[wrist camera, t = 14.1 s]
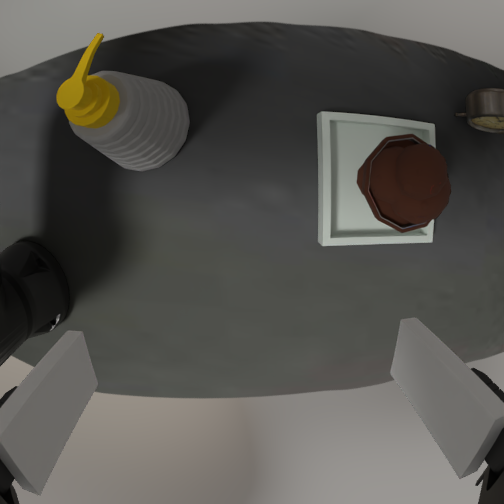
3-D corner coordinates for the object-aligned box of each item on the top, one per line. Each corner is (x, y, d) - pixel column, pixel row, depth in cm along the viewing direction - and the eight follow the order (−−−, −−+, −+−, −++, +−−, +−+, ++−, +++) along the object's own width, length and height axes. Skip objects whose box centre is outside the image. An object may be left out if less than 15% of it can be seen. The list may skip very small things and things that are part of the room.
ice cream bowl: (321, 182, 40) (365, 189, 26) (372, 123, 38) (433, 106, 24) (374, 234, 42) (431, 266, 28) (420, 177, 40) (489, 186, 26)
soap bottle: (206, 97, 37) (178, 36, 18) (167, 185, 40) (106, 200, 20) (124, 71, 36) (49, 13, 16) (89, 154, 38) (-8, 151, 18)
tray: (318, 241, 43) (322, 245, 40) (316, 114, 38) (321, 111, 36) (423, 238, 43) (432, 242, 41) (425, 125, 39) (434, 124, 36)
